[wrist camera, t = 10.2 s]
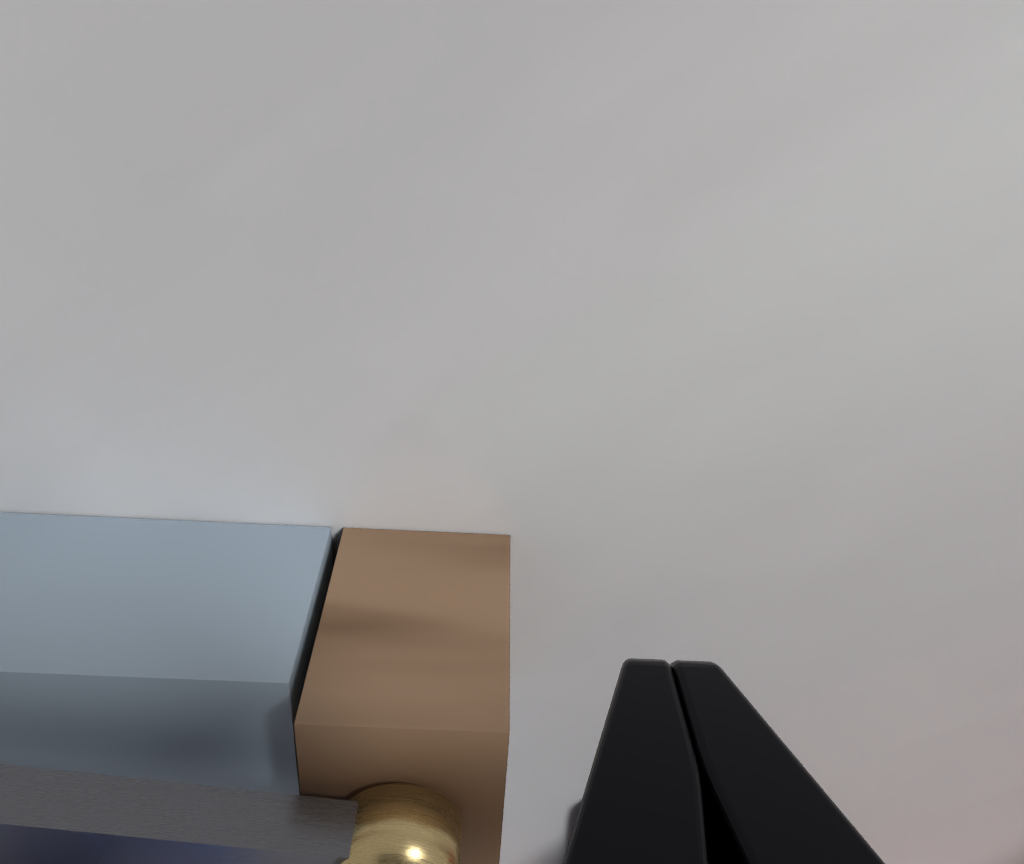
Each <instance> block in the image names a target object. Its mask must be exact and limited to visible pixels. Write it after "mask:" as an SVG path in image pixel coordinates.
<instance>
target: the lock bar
mask: <svg viewBox="0 0 1024 864" xmlns="http://www.w3.org/2000/svg"><path fill="white" fill-rule="evenodd" d="M461 841H462V818H461V815H460V813H459V811H458V809H457V808H456V807H455V805H454V804H453V803H452V802H451V801H450V800H449V799H447V798H446V797H445V796H443V795H441V794H440V793H438V792H436V791H433V790H431V789H428V788H425V787H422V786H417V785H412V784H401V783H397V784H384V785H379V786H375V787H371V788H368V789H366V790H364V791H362V792H360V793H358V794H356V795H355V796H354V797H353V798H351V799H350V800H340V799H330V798H321V797H311V796H302V795H292V794H283V793H273V792H263V791H254V790H244V789H235V788H225V787H216V786H206V785H196V784H187V783H177V782H168V781H158V780H148V779H139V778H129V777H120V776H110V775H101V774H91V773H81V772H72V771H62V770H53V769H43V768H34V767H24V766H14V765H5V764H0V864H460V861H461Z"/></svg>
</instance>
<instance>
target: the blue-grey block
mask: <svg viewBox="0 0 1024 864" xmlns="http://www.w3.org/2000/svg"><path fill="white" fill-rule="evenodd" d="M332 572H333V554H332V536H331V527H316V526H294V525H272V524H249V523H227V522H205V521H182V520H160V519H138V518H116V517H93V516H71V515H49V514H26V513H4V512H0V764H5V765H14V766H24V767H34V768H43V769H53V770H62V771H72V772H81V773H91V774H101V775H110V776H120V777H129V778H139V779H148V780H158V781H168V782H177V783H187V784H196V785H206V786H216V787H225V788H235V789H244V790H254V791H263V792H273V793H283V794H292V795H301V793H300V782H299V771H298V760H297V750H296V739H295V728H294V723H295V719H296V715H297V711H298V707H299V703H300V699H301V695H302V691H303V687H304V683H305V679H306V675H307V671H308V667H309V663H310V659H311V655H312V651H313V647H314V643H315V639H316V635H317V631H318V627H319V623H320V619H321V616H322V612H323V608H324V604H325V600H326V596H327V592H328V588H329V584H330V580H331V576H332Z"/></svg>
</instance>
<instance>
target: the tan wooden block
mask: <svg viewBox="0 0 1024 864" xmlns="http://www.w3.org/2000/svg"><path fill="white" fill-rule="evenodd" d="M294 728H295V739H296V750H297V760H298V771H299V782H300V793H301V795H302V796H311V797H321V798H330V799H340V800H350V799H351V798H353V797H354V796H355V795H356V794H358V793H360V792H362V791H364V790H366V789H368V788H371V787H375V786H379V785H384V784H397V783H401V784H412V785H417V786H422V787H425V788H428V789H431V790H433V791H436V792H438V793H440V794H441V795H443V796H445V797H446V798H447V799H449V800H450V801H451V802H452V803H453V804H454V805H455V807H456V808H457V809H458V811H459V813H460V815H461V818H462V841H461V861H460V864H499V859H500V846H501V834H502V821H503V808H504V796H505V783H506V770H507V758H508V745H509V730H510V535H495V534H472V533H450V532H428V531H405V530H383V529H361V528H343V532H342V536H341V540H340V544H339V548H338V552H337V556H336V560H335V564H334V568H333V572H332V576H331V580H330V584H329V588H328V592H327V596H326V600H325V604H324V608H323V612H322V616H321V619H320V623H319V627H318V631H317V635H316V639H315V643H314V647H313V651H312V655H311V659H310V663H309V667H308V671H307V675H306V679H305V683H304V687H303V691H302V695H301V699H300V703H299V707H298V711H297V715H296V719H295V723H294Z"/></svg>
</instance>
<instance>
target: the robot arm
mask: <svg viewBox="0 0 1024 864" xmlns="http://www.w3.org/2000/svg"><path fill="white" fill-rule="evenodd" d="M563 864H885V863H884V862H883V861H882V860H881V858H880V857H879V856H878V855H877V854H876V853H875V851H874V850H873V849H872V848H871V847H870V845H869V844H868V843H867V842H866V841H865V839H864V838H863V837H862V836H861V835H860V833H859V832H858V831H857V830H856V829H855V827H854V826H853V825H852V824H851V823H850V821H849V820H848V819H847V818H846V817H845V816H844V814H843V813H842V812H841V811H840V810H839V808H838V807H837V806H836V805H835V804H834V802H833V801H832V800H831V799H830V798H829V796H828V795H827V794H826V793H825V792H824V790H823V789H822V788H821V787H820V786H819V784H818V783H817V782H816V781H815V780H814V778H813V777H812V776H811V775H810V774H809V773H808V771H807V770H806V769H805V768H804V767H803V765H802V764H801V763H800V762H799V761H798V759H797V758H796V757H795V756H794V755H793V753H792V752H791V751H790V750H789V749H788V747H787V746H786V745H785V744H784V743H783V741H782V740H781V739H780V738H779V737H778V736H777V734H776V733H775V732H774V731H773V730H772V728H771V727H770V726H769V725H768V724H767V722H766V721H765V720H764V719H763V718H762V716H761V715H760V714H759V713H758V712H757V710H756V709H755V708H754V707H753V706H752V704H751V703H750V702H749V701H748V700H747V698H746V697H745V696H744V695H743V694H742V693H741V691H740V690H739V689H738V688H737V687H736V685H735V684H734V683H733V682H732V681H731V679H730V678H729V677H728V676H727V675H726V673H725V672H724V671H723V670H722V669H721V668H720V667H719V666H718V665H716V664H715V663H713V662H704V661H680V660H678V661H675V662H673V663H671V665H669V664H668V663H667V662H666V661H665V660H656V659H627V660H625V662H624V663H623V665H622V668H621V671H620V675H619V678H618V681H617V685H616V688H615V691H614V695H613V698H612V701H611V705H610V708H609V711H608V715H607V718H606V721H605V725H604V728H603V731H602V735H601V738H600V742H599V745H598V748H597V752H596V755H595V758H594V762H593V765H592V768H591V772H590V775H589V778H588V782H587V785H586V788H585V792H584V795H583V798H582V802H581V805H580V808H579V812H578V815H577V818H576V822H575V825H574V829H573V832H572V835H571V839H570V842H569V845H568V849H567V852H566V855H565V859H564V862H563Z"/></svg>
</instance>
